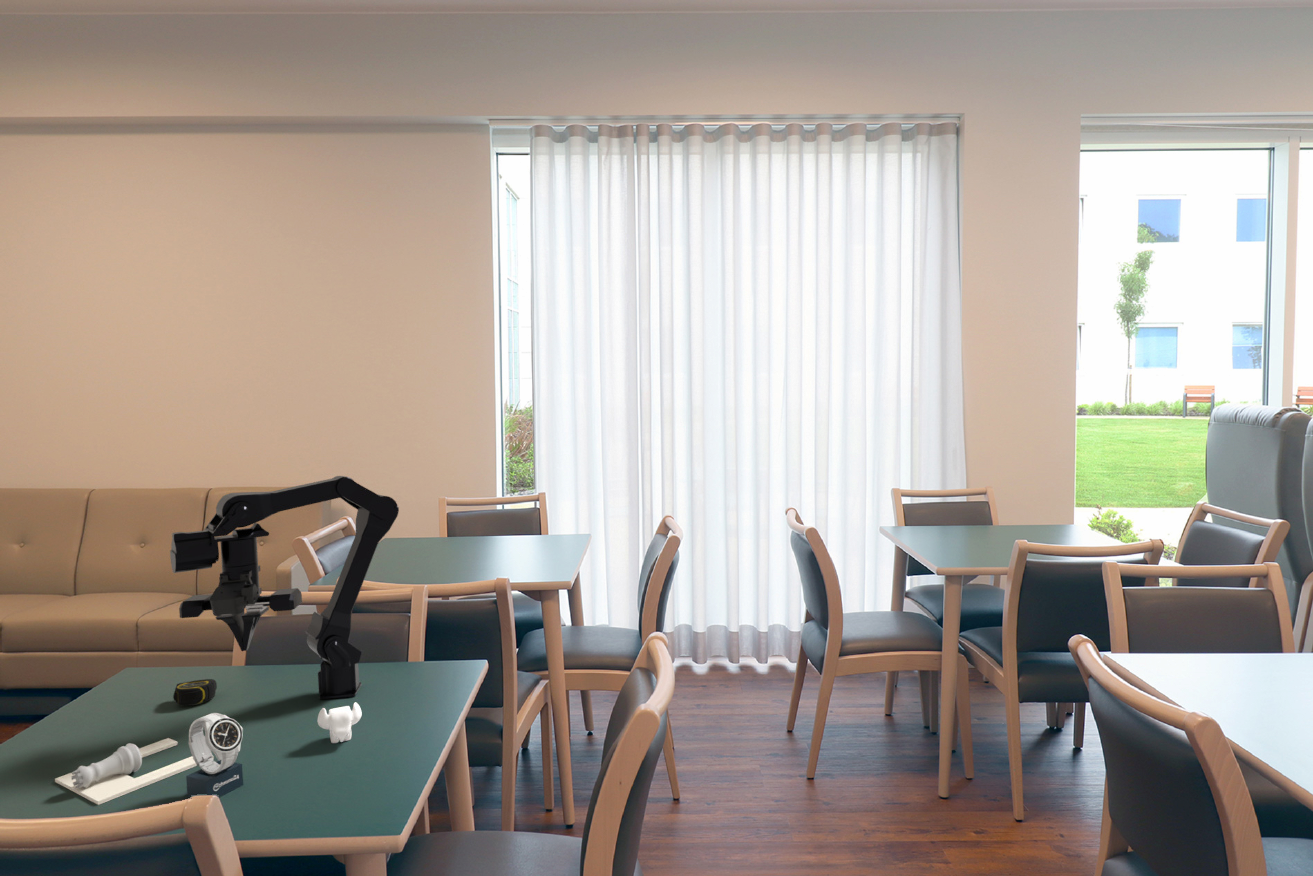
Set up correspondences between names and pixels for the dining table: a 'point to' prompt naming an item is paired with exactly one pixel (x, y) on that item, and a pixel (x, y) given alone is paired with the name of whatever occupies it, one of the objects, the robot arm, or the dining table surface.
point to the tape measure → (195, 692)
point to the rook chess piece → (109, 766)
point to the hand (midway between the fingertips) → (244, 650)
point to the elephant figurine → (340, 721)
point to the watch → (225, 745)
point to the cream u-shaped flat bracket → (128, 777)
